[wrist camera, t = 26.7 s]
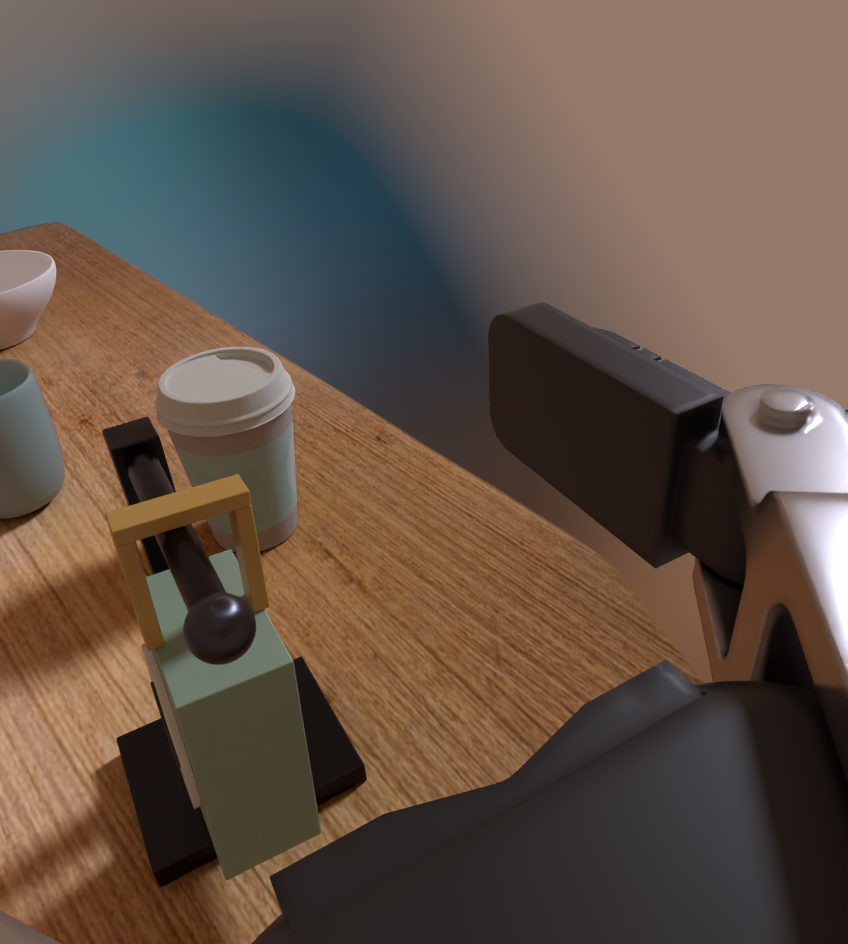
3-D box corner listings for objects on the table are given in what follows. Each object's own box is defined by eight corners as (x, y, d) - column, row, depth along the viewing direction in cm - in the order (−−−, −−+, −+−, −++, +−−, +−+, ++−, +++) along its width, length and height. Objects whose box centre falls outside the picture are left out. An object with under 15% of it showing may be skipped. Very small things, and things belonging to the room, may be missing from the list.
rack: (305, 670, 43) (238, 373, 33) (428, 887, 33) (390, 557, 23) (122, 752, 40) (-18, 447, 29) (198, 1026, 29) (23, 707, 19)
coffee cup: (332, 544, 52) (305, 386, 45) (204, 582, 50) (156, 421, 43) (300, 478, 59) (272, 332, 52) (186, 509, 56) (141, 360, 50)
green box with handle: (268, 711, 37) (213, 435, 29) (326, 831, 32) (280, 537, 23) (170, 752, 35) (82, 471, 27) (215, 887, 30) (123, 590, 22)
